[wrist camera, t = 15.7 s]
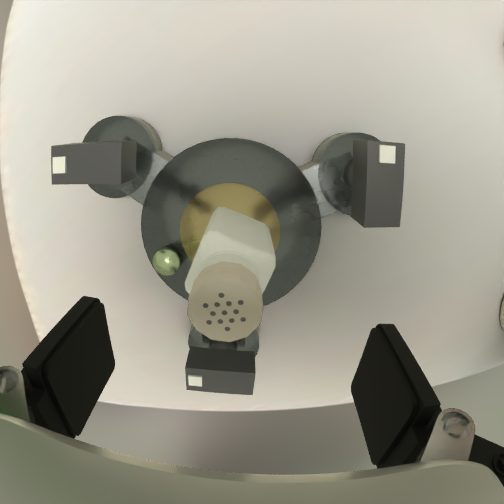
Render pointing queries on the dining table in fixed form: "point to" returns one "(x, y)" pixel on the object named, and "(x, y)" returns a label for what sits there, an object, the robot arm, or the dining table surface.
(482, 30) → the dining table surface
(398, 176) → the knob
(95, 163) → the knob
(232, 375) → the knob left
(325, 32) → the dining table surface
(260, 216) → the levelling base
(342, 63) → the dining table surface
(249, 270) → the pepper shaker
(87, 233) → the dining table surface
